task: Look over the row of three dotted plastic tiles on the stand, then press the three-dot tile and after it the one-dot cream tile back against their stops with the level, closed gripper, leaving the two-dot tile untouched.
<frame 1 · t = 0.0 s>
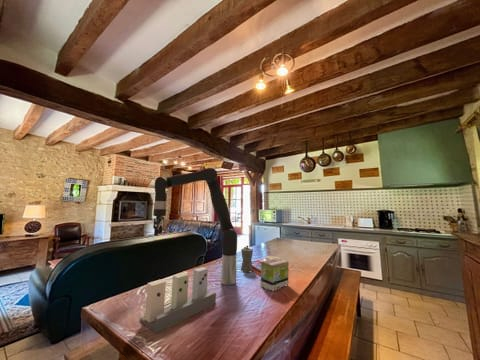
hand: (158, 234, 124), 29 cm above the table, tool pointing down, fingers open, 8 cm apart
tile three: (200, 283, 102), point 8 cm above the table, slide at 0.0 cm
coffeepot: (246, 269, 152), on the table
tile stand: (178, 309, 92), on the table
tea box: (274, 286, 121), on the table
candle holder: (272, 275, 141), on the table
tile one: (155, 299, 84), point 8 cm above the table, slide at 0.0 cm
tile two: (180, 290, 93), point 8 cm above the table, slide at 0.0 cm
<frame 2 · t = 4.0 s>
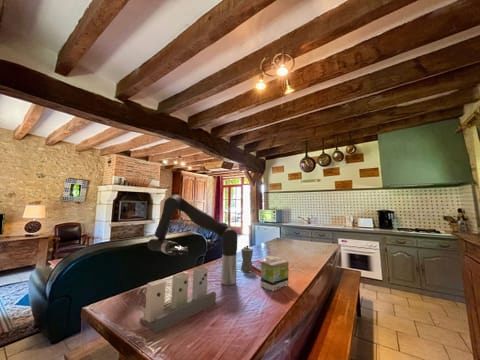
hand: (187, 252, 111), 22 cm above the table, tool horizontal, fingers closed
nothing on the table moved.
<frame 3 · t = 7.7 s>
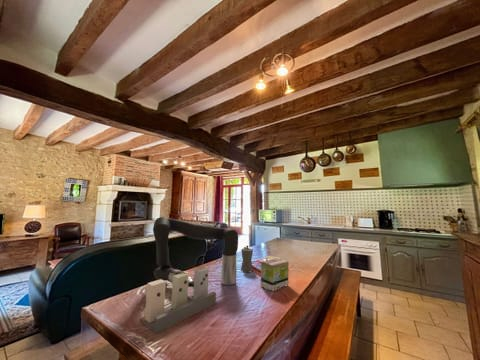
hand: (197, 286, 102), 7 cm above the table, tool horizontal, fingers closed
tile three: (201, 283, 102), point 8 cm above the table, slide at 0.8 cm, touching gripper
everything else where it was.
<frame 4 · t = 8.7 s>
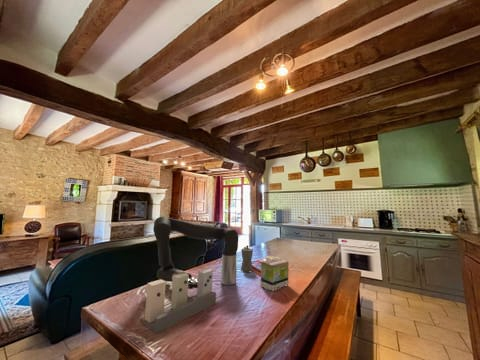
hand: (201, 287, 101), 7 cm above the table, tool horizontal, fingers closed
tile three: (205, 285, 100), point 8 cm above the table, slide at 3.7 cm, touching gripper
everything else where it was.
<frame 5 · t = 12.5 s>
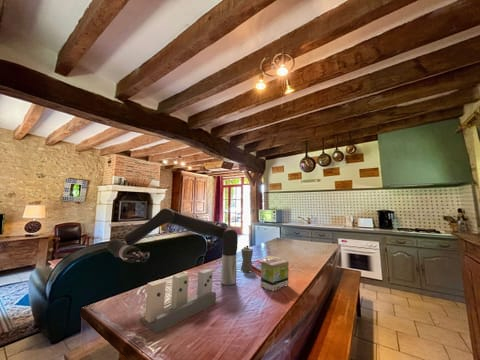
hand: (145, 259, 93), 22 cm above the table, tool horizontal, fingers closed
tile three: (205, 285, 100), point 8 cm above the table, slide at 3.8 cm
everything else where it was.
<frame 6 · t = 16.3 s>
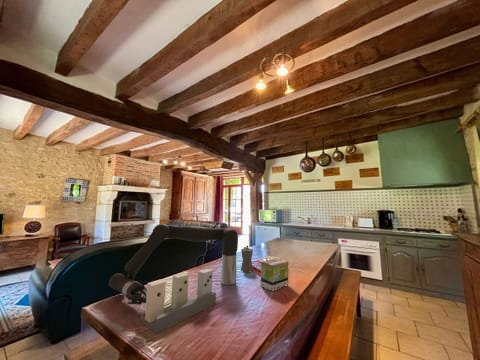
hand: (151, 302, 84), 7 cm above the table, tool horizontal, fingers closed
tile one: (155, 300, 84), point 8 cm above the table, slide at 0.0 cm, touching gripper
everything else where it was.
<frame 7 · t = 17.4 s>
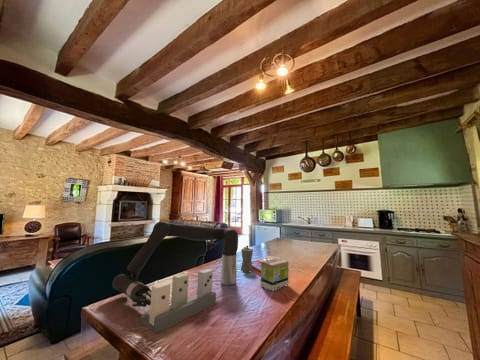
hand: (157, 304, 82), 7 cm above the table, tool horizontal, fingers closed
tile one: (160, 302, 81), point 8 cm above the table, slide at 3.7 cm, touching gripper
everything else where it was.
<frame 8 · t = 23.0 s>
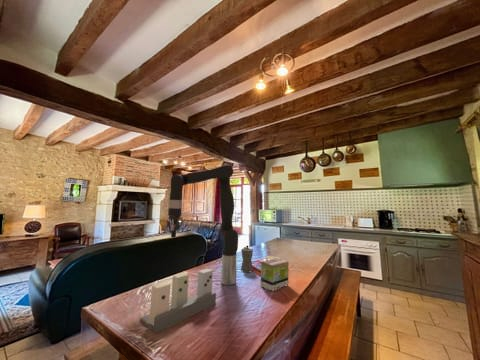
hand: (173, 237, 118), 29 cm above the table, tool pointing down, fingers closed
tile one: (160, 302, 81), point 8 cm above the table, slide at 3.7 cm
everything else where it was.
at the end: tile three slide at 3.8 cm; tile one slide at 3.7 cm; tile two slide at 0.0 cm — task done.
